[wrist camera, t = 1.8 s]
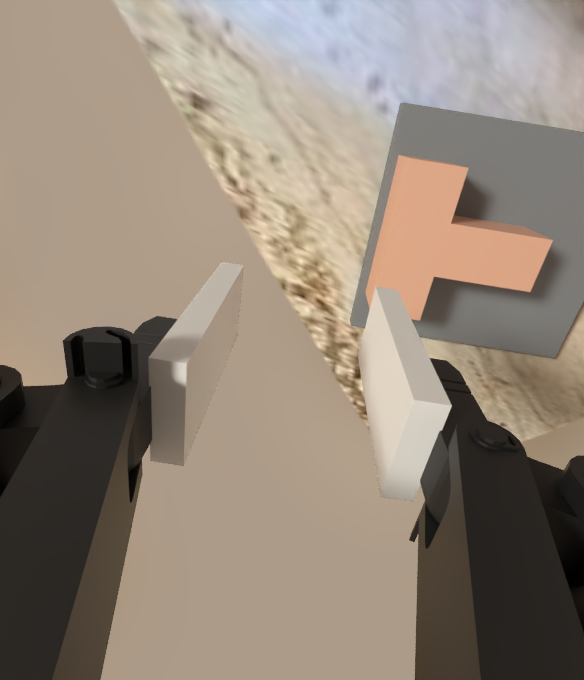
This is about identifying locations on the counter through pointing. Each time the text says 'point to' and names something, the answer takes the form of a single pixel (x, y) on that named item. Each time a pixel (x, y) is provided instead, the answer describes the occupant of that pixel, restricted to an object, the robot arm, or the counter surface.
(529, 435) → the counter surface
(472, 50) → the counter surface
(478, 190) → the mat
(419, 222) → the t block
